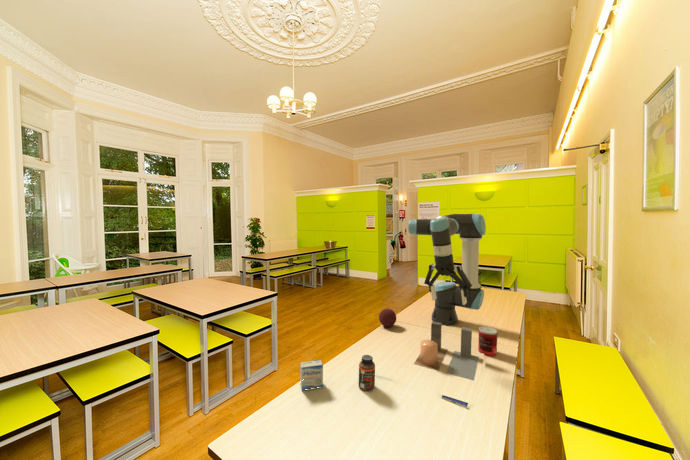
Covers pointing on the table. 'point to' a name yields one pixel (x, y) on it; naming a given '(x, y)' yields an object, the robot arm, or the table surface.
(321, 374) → the medicine box
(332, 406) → the table surface
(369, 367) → the supplement bottle
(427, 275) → the robot arm
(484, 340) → the canned food
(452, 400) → the hard drive
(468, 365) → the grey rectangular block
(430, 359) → the peach capsule shape
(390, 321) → the decorative ball
